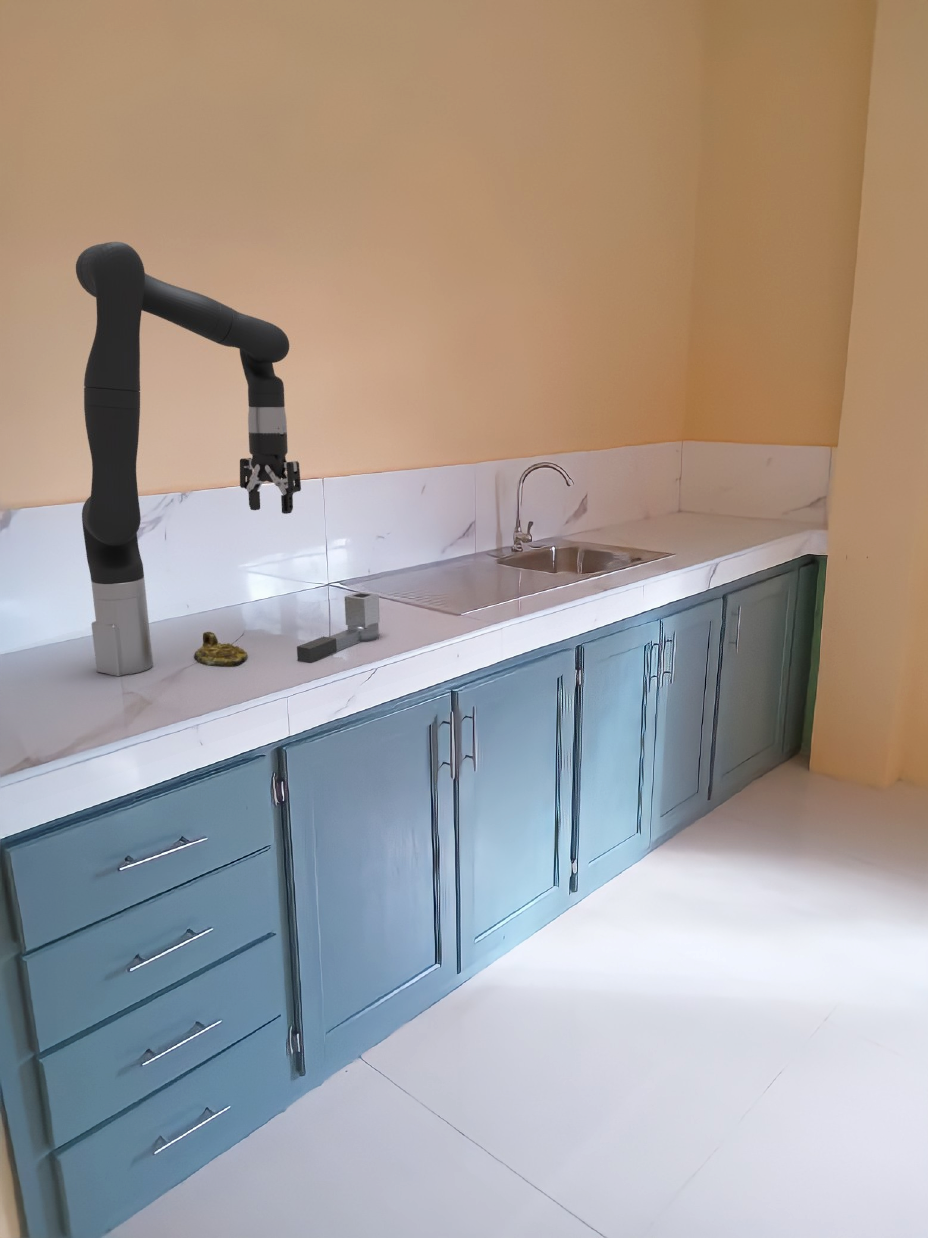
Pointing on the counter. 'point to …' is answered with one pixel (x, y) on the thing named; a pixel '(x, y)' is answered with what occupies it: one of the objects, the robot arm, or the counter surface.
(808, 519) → the counter surface
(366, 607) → the hollow square tube
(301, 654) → the ratchet
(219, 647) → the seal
